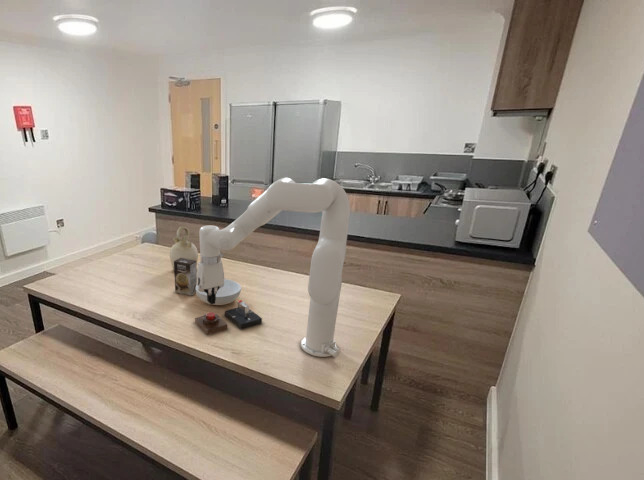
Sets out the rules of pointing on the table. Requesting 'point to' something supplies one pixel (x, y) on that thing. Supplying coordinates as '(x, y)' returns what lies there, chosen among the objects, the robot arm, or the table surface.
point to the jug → (183, 248)
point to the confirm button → (210, 316)
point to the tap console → (242, 321)
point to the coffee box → (185, 276)
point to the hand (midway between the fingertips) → (211, 302)
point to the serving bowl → (223, 293)
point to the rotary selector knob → (243, 308)
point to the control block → (211, 324)
